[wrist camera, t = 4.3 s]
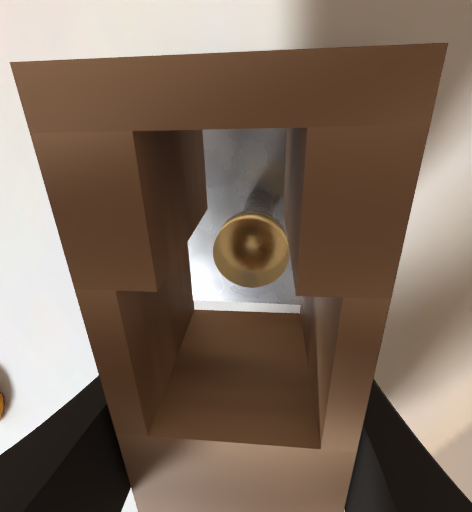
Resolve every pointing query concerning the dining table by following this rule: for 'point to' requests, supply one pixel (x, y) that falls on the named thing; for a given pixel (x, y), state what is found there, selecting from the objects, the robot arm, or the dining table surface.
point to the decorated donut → (1, 405)
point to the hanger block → (178, 265)
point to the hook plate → (226, 200)
